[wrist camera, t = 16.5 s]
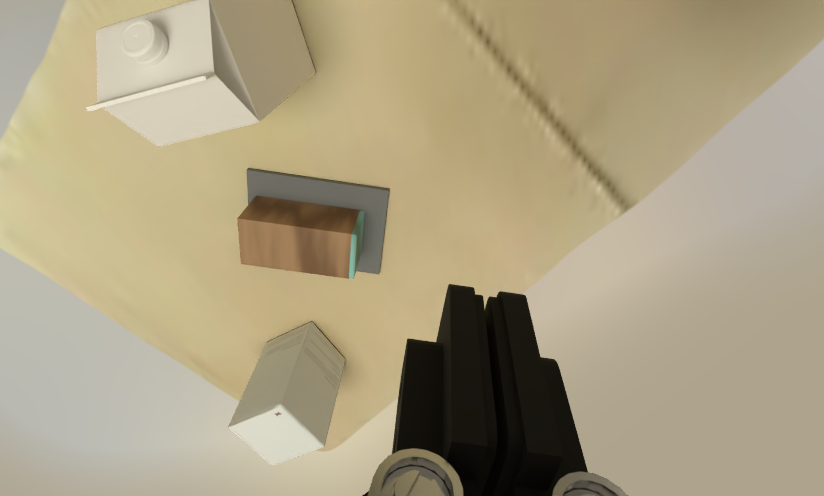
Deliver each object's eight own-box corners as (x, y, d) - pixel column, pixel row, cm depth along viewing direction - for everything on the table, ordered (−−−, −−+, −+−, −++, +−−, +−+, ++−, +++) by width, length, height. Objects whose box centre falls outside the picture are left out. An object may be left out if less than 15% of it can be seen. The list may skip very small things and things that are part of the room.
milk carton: (317, 73, 42) (235, 144, 26) (243, 92, 43) (122, 171, 27) (287, -17, 39) (171, 0, 22) (208, 6, 40) (44, 39, 24)
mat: (389, 188, 47) (388, 190, 47) (379, 271, 52) (379, 274, 52) (248, 168, 47) (246, 170, 47) (252, 253, 52) (251, 255, 52)
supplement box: (265, 341, 59) (224, 426, 48) (312, 319, 57) (281, 404, 46) (301, 379, 62) (270, 468, 51) (348, 360, 60) (326, 449, 49)
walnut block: (356, 234, 44) (237, 218, 44) (353, 279, 46) (241, 263, 46) (364, 210, 48) (256, 195, 48) (361, 252, 51) (258, 238, 51)
